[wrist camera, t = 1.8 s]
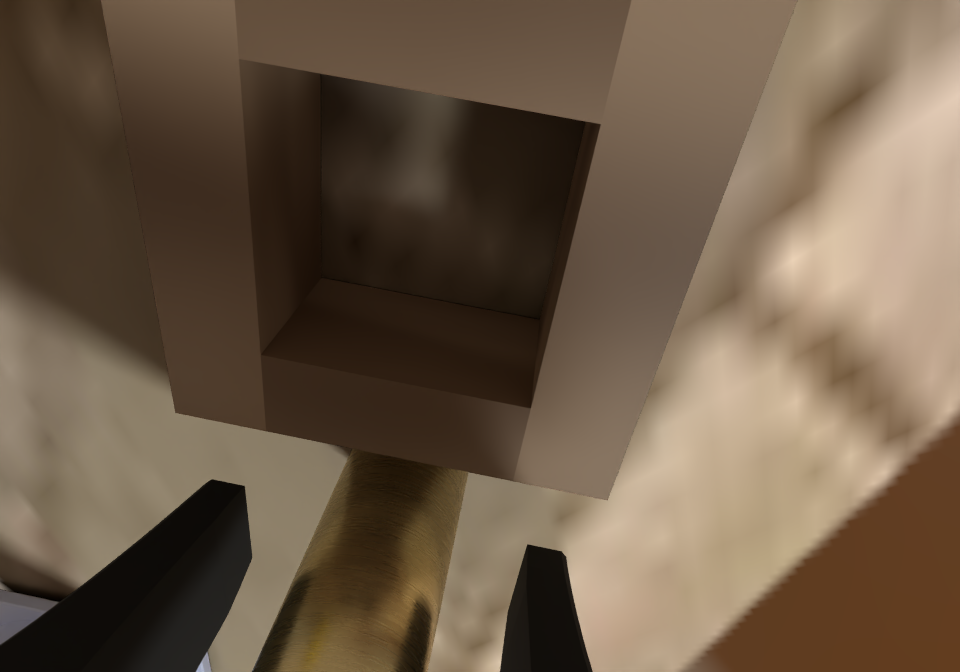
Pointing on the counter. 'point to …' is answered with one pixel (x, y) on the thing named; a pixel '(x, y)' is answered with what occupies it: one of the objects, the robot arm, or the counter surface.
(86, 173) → the counter surface
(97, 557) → the counter surface
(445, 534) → the brass pin
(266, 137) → the socket block
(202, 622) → the robot arm
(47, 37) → the counter surface
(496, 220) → the counter surface
